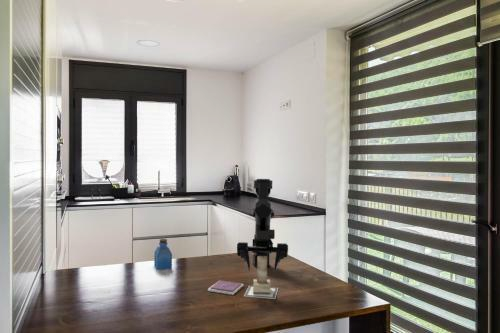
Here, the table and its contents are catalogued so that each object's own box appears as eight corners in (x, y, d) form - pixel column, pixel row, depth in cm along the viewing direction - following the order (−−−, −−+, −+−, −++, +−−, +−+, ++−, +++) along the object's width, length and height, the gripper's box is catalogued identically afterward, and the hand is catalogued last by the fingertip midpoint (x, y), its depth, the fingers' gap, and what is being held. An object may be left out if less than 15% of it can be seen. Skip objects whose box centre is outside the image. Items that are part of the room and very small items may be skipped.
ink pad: (219, 282, 149) (219, 279, 149) (243, 286, 145) (243, 282, 145) (207, 291, 139) (207, 287, 139) (233, 295, 136) (233, 291, 136)
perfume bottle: (154, 266, 169) (154, 238, 169) (168, 264, 171) (168, 237, 171) (157, 270, 163) (157, 241, 163) (171, 268, 166) (172, 240, 166)
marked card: (249, 285, 146) (249, 285, 146) (278, 288, 144) (278, 287, 144) (243, 296, 135) (243, 295, 135) (275, 298, 133) (275, 298, 133)
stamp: (253, 288, 142) (254, 254, 142) (269, 288, 142) (270, 255, 142) (253, 294, 136) (253, 259, 136) (270, 294, 136) (270, 259, 136)
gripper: (237, 220, 143) (235, 258, 132) (288, 221, 142) (289, 259, 131) (238, 237, 151) (236, 274, 140) (286, 238, 150) (287, 275, 140)
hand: (262, 270), depth 138 cm, fingers open, 9 cm apart
